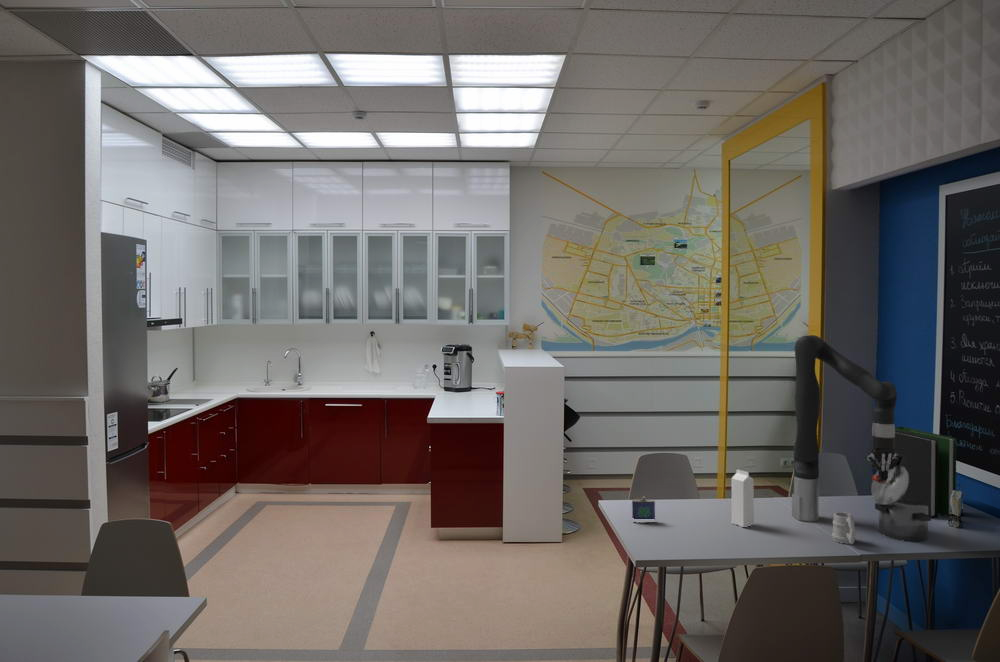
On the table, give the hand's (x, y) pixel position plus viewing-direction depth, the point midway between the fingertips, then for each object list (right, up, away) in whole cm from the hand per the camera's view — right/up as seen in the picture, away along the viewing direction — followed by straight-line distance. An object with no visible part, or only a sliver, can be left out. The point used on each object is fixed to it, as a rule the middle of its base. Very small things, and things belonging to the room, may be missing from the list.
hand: (883, 480), depth 249 cm
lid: (+4, 0, 0) cm, 4 cm away
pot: (+8, -21, +1) cm, 23 cm away
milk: (-48, -22, +15) cm, 54 cm away
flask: (-86, -22, +21) cm, 91 cm away
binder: (+32, -19, +33) cm, 50 cm away
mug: (-17, -22, -6) cm, 29 cm away
